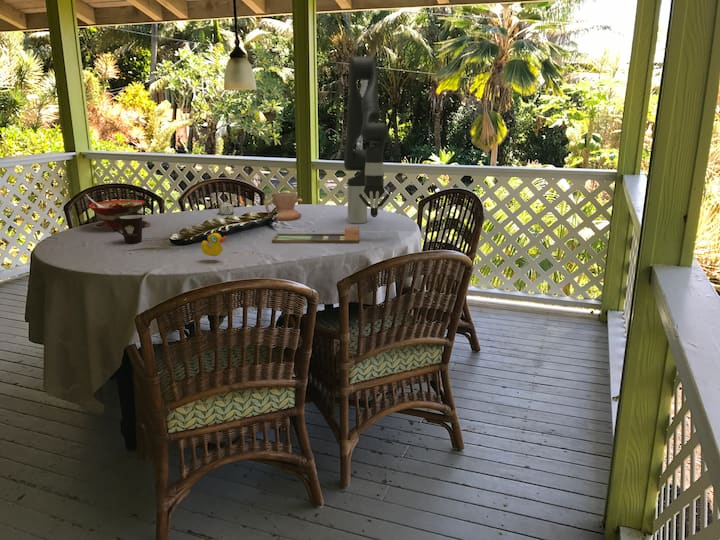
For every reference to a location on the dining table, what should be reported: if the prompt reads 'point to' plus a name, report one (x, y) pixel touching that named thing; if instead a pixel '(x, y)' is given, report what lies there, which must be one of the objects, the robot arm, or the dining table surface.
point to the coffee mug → (130, 228)
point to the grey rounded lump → (226, 208)
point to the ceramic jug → (285, 206)
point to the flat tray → (306, 238)
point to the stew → (116, 211)
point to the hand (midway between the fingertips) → (374, 216)
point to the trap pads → (323, 236)
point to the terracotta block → (351, 233)
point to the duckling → (213, 245)
